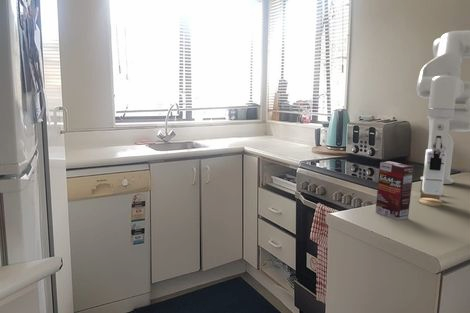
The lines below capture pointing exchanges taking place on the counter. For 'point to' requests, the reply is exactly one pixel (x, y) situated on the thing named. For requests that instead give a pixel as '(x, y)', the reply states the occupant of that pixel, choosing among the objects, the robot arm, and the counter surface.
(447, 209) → the counter surface
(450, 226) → the counter surface
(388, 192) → the supplement box
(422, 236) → the counter surface
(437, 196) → the cradle
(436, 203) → the disc
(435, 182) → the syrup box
